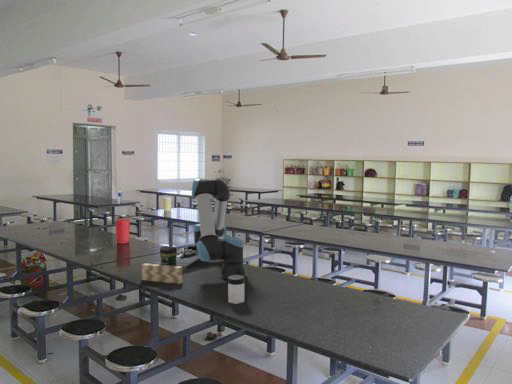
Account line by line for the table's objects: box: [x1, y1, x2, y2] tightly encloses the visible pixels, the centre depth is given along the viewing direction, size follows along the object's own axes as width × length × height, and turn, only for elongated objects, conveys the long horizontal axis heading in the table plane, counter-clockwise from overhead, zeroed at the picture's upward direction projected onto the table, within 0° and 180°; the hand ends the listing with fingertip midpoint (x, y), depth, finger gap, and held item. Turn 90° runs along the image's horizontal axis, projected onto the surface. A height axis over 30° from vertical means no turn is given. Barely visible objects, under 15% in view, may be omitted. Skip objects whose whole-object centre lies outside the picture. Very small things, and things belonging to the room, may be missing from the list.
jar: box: [227, 275, 246, 305], centre depth 202 cm, size 9×8×12 cm
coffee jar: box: [159, 245, 178, 266], centre depth 239 cm, size 10×8×19 cm
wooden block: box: [141, 262, 183, 285], centre depth 233 cm, size 24×3×9 cm, turn 73°
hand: (177, 258), depth 251 cm, fingers closed
